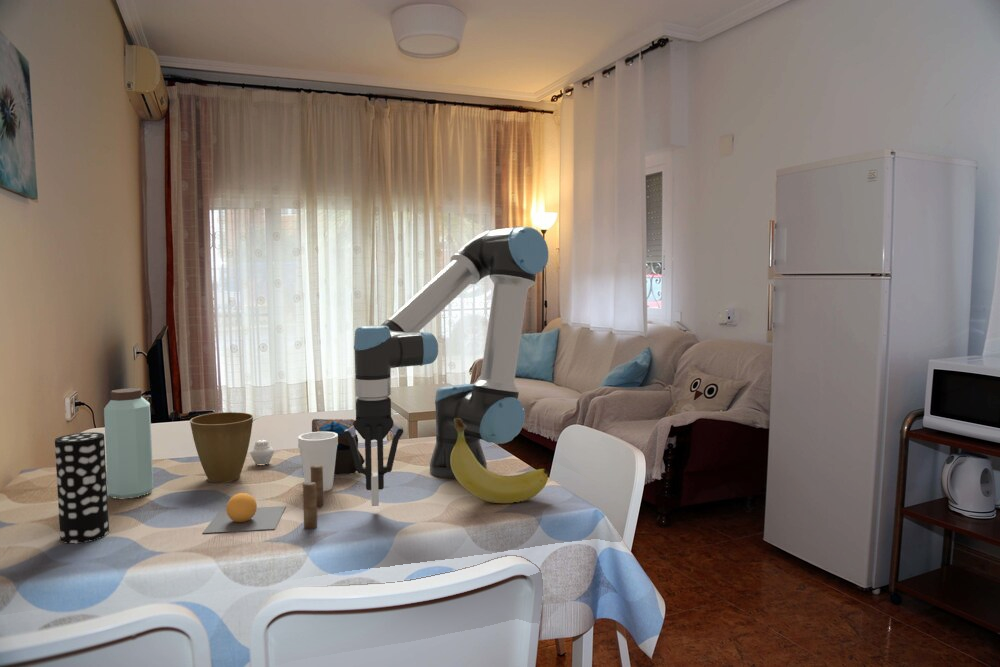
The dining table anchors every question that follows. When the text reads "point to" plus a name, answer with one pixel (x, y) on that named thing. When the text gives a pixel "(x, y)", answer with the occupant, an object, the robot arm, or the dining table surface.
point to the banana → (492, 476)
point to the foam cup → (319, 455)
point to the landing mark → (260, 521)
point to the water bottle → (128, 444)
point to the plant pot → (222, 443)
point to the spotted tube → (81, 487)
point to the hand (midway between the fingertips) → (375, 503)
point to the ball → (241, 507)
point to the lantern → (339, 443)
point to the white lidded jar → (262, 452)
